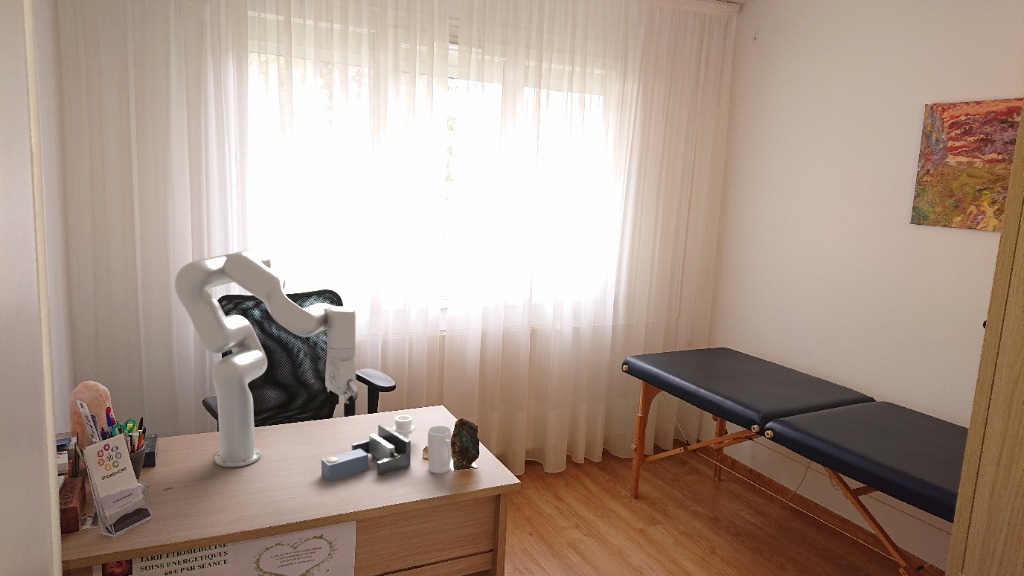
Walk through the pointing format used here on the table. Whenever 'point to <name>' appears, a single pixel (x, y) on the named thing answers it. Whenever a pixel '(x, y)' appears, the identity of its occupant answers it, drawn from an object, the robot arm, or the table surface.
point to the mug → (439, 449)
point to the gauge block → (345, 464)
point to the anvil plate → (380, 448)
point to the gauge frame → (401, 449)
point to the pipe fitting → (403, 425)
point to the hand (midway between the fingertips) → (341, 410)
